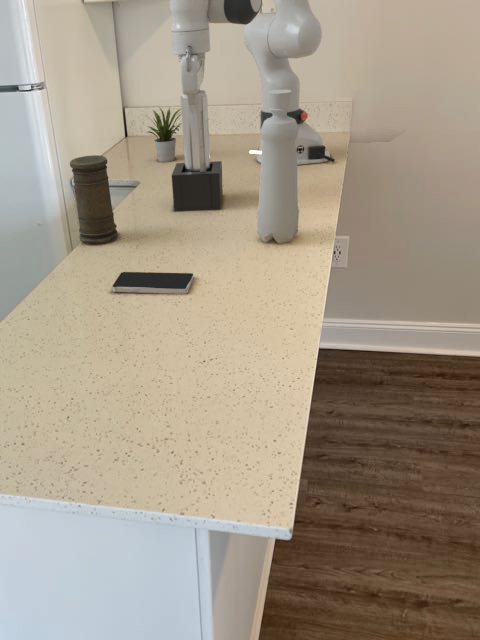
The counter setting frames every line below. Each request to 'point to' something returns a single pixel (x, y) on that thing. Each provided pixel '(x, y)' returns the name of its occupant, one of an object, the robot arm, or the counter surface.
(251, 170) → the counter surface
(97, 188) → the container
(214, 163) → the box
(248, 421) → the counter surface
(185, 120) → the silver tall cylinder
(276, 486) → the counter surface
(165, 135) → the house plant
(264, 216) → the bottle
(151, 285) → the smartphone
